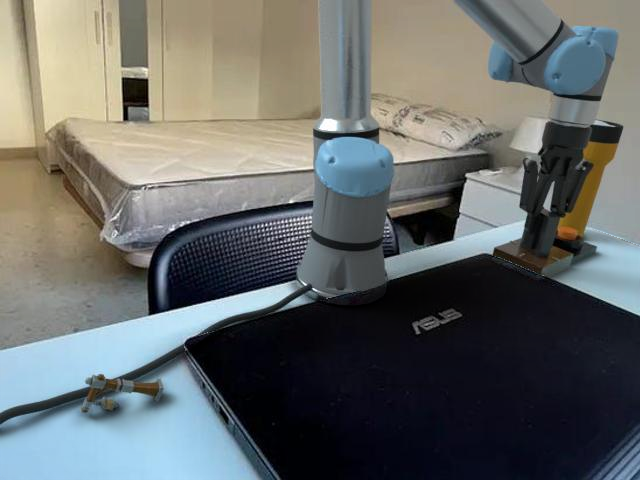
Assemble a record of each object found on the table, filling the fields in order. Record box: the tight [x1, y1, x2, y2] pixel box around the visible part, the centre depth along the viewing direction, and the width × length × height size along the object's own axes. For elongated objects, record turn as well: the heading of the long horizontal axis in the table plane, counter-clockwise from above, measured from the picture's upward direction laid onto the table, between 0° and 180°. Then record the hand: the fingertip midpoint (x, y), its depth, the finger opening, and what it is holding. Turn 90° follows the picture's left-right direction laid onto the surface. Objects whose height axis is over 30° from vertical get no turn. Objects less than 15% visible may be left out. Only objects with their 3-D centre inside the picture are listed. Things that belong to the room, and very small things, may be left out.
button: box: [557, 227, 578, 240], centre depth 104 cm, size 4×4×2 cm
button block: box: [552, 230, 598, 266], centre depth 105 cm, size 11×9×4 cm
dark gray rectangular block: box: [520, 206, 560, 257], centre depth 95 cm, size 6×2×8 cm, turn 12°
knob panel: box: [492, 237, 574, 279], centre depth 97 cm, size 12×10×3 cm
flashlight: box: [557, 119, 624, 238], centre depth 111 cm, size 10×26×10 cm
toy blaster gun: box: [81, 373, 165, 414], centre depth 53 cm, size 2×8×4 cm, turn 118°
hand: (535, 245), depth 96 cm, fingers closed on dark gray rectangular block, 2 cm apart
